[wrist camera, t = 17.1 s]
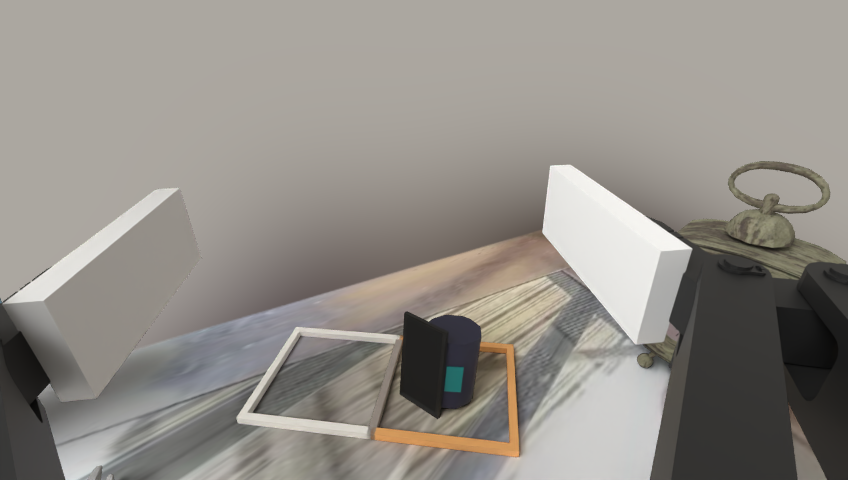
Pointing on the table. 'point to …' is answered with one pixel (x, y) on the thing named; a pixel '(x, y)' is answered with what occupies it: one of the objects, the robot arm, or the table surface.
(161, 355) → the table surface
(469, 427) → the table surface
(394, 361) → the rectangular frame
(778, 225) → the tabletop clock
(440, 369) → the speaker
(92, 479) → the combination wrench
